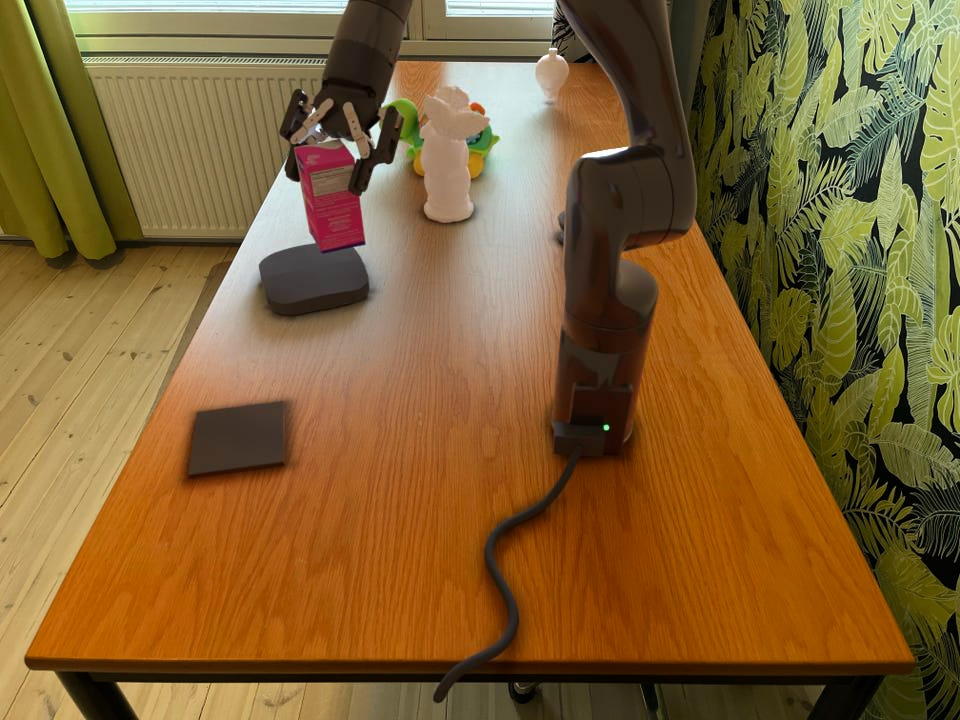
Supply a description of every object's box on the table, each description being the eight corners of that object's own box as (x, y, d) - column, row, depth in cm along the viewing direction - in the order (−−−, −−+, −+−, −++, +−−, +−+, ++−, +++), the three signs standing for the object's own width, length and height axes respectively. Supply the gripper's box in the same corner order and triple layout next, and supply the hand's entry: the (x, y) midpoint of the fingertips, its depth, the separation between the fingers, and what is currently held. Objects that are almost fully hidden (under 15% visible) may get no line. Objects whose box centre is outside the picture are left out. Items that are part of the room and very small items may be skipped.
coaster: (284, 465, 78) (283, 461, 78) (188, 478, 76) (187, 475, 76) (285, 404, 86) (284, 400, 85) (198, 415, 84) (196, 411, 84)
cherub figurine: (445, 193, 129) (442, 67, 115) (504, 210, 124) (509, 81, 110) (406, 220, 121) (397, 89, 107) (468, 240, 116) (468, 105, 102)
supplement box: (307, 233, 89) (292, 145, 82) (353, 224, 91) (342, 137, 84) (319, 255, 85) (305, 165, 78) (367, 245, 87) (357, 156, 80)
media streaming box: (376, 300, 102) (374, 283, 101) (273, 322, 98) (269, 304, 96) (351, 251, 113) (349, 234, 111) (257, 269, 109) (253, 252, 107)
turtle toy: (390, 141, 147) (386, 83, 140) (502, 147, 145) (504, 88, 138) (372, 176, 134) (366, 114, 127) (495, 183, 132) (496, 121, 125)
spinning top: (528, 99, 167) (530, 45, 160) (558, 96, 169) (562, 42, 161) (540, 110, 162) (543, 55, 154) (571, 107, 163) (576, 52, 156)
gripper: (296, 28, 82) (253, 162, 81) (406, 44, 77) (362, 186, 77) (327, 63, 89) (288, 186, 88) (430, 79, 84) (389, 209, 84)
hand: (322, 186), depth 82 cm, fingers closed on supplement box, 8 cm apart
